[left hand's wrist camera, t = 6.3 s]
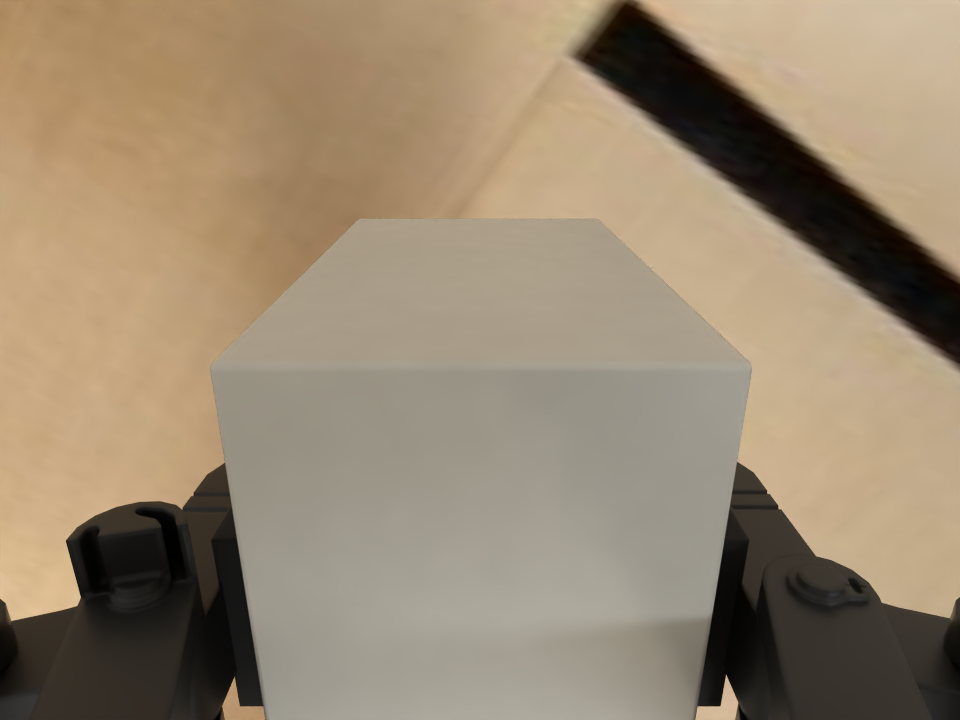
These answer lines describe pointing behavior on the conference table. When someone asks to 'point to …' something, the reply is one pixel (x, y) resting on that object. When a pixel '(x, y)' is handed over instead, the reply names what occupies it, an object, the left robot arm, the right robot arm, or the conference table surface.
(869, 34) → the conference table surface
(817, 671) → the left robot arm
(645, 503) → the bar
